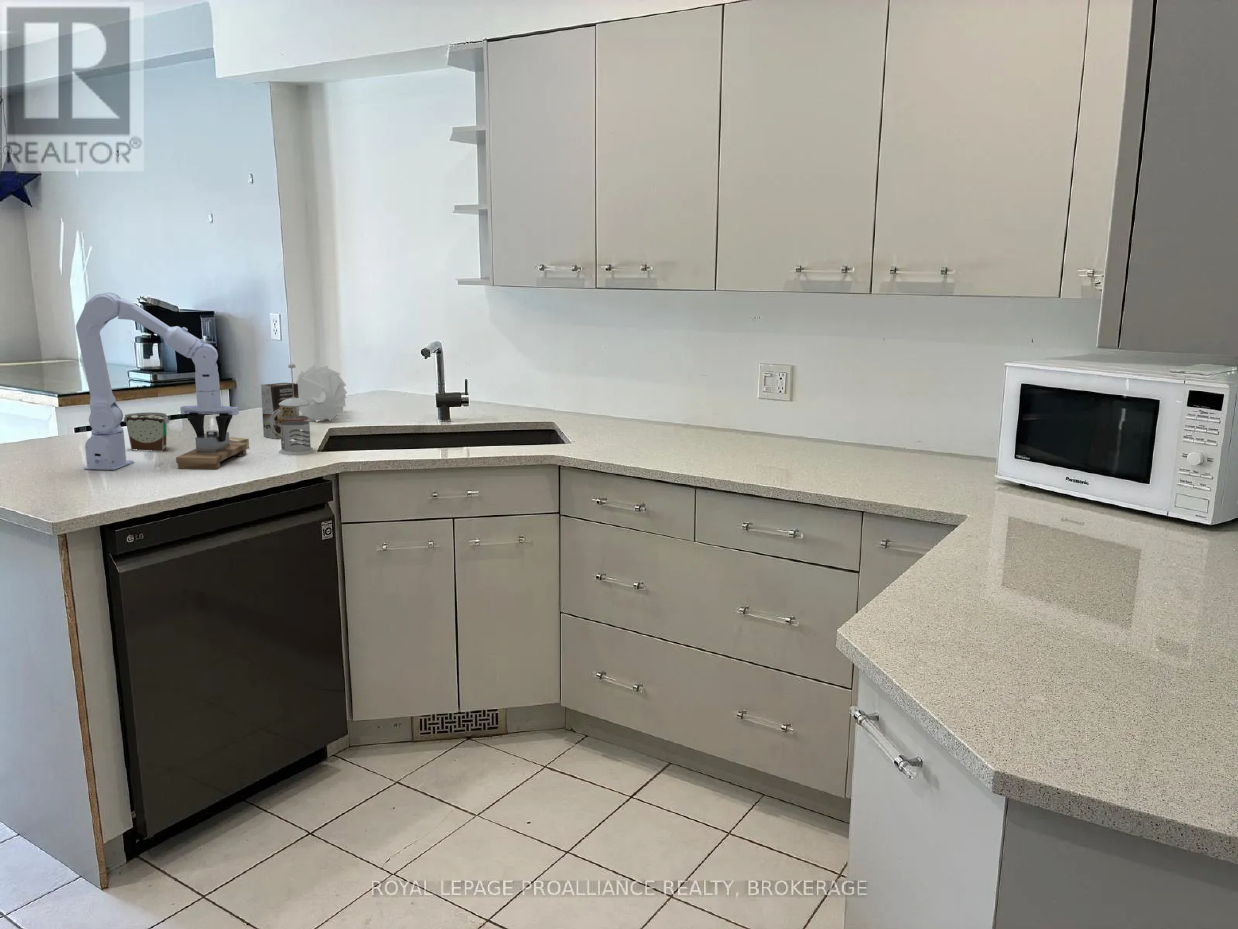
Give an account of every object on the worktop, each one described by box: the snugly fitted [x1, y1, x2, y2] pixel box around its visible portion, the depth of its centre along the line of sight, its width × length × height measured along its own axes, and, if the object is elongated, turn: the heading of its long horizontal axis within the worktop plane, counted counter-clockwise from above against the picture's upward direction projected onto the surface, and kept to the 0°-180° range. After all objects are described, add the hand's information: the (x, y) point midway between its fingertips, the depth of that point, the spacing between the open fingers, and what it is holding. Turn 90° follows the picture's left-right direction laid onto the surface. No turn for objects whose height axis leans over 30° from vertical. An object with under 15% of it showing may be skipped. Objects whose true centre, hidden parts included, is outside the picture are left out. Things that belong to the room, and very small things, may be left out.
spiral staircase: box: [295, 364, 348, 422], centre depth 309 cm, size 18×18×25 cm
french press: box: [270, 362, 316, 456], centre depth 252 cm, size 10×12×25 cm
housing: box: [195, 429, 230, 453], centre depth 240 cm, size 9×5×5 cm, turn 0°
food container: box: [123, 411, 170, 452], centre depth 254 cm, size 12×6×10 cm, turn 84°
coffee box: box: [260, 382, 301, 440], centre depth 275 cm, size 9×6×16 cm
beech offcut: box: [229, 436, 250, 450], centre depth 257 cm, size 4×6×3 cm, turn 65°
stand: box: [175, 443, 247, 470], centre depth 241 cm, size 20×10×3 cm, turn 0°
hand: (212, 441), depth 240 cm, fingers closed on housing, 5 cm apart
